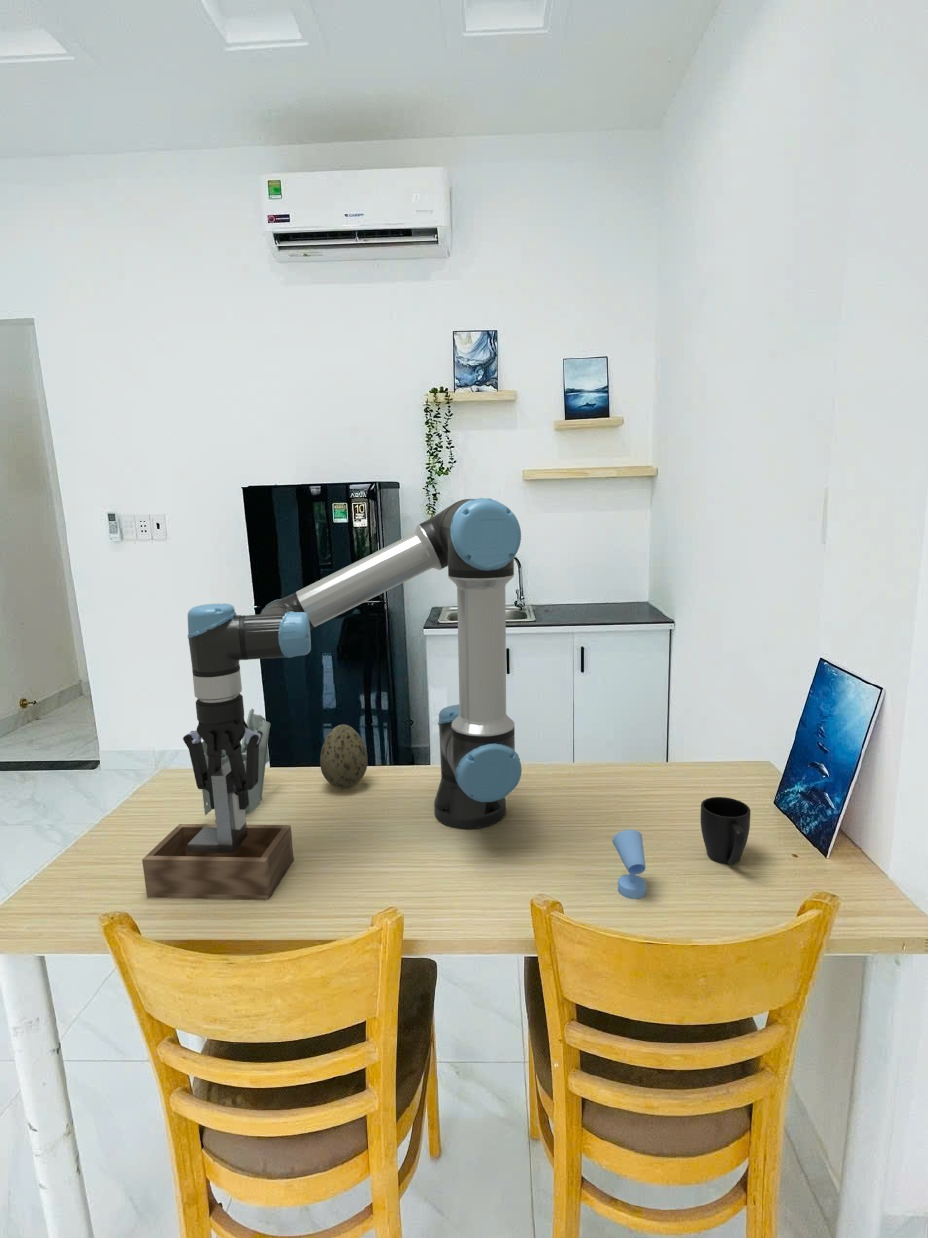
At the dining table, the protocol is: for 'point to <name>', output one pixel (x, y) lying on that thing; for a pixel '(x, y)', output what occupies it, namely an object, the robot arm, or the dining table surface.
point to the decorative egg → (343, 757)
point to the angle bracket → (220, 818)
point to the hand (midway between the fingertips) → (231, 825)
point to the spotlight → (631, 863)
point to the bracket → (255, 793)
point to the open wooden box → (219, 865)
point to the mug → (725, 828)
